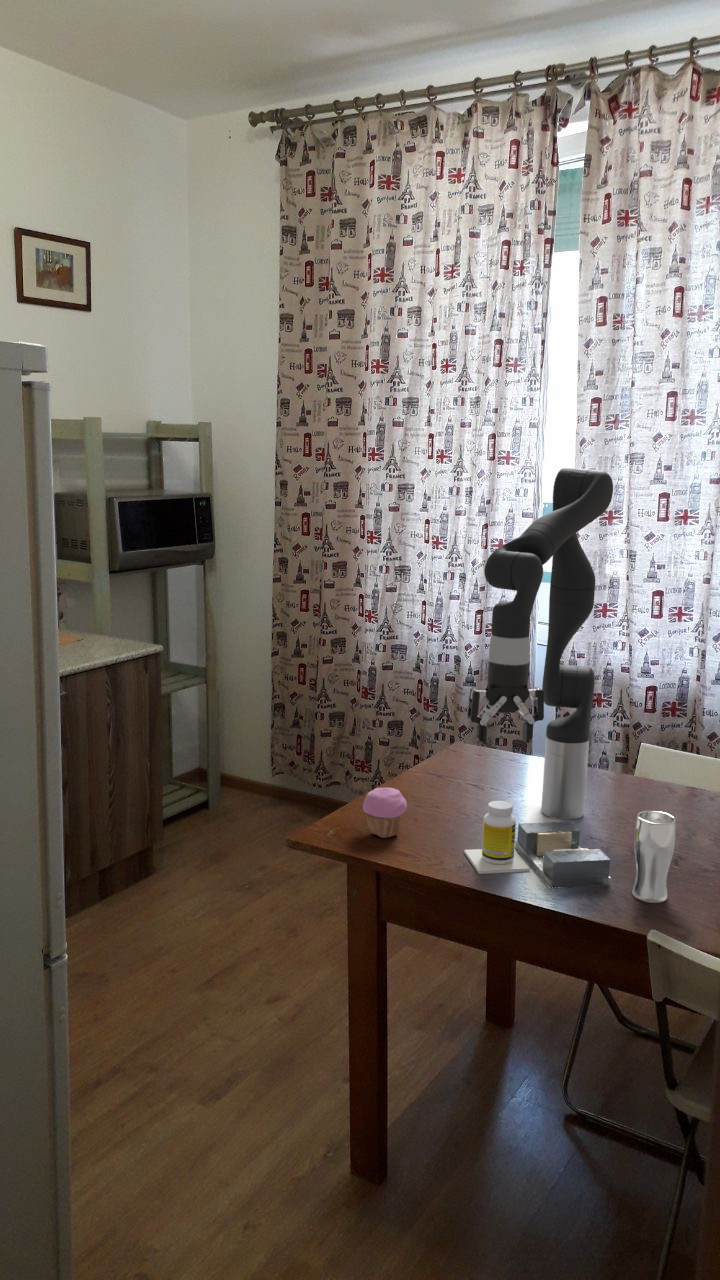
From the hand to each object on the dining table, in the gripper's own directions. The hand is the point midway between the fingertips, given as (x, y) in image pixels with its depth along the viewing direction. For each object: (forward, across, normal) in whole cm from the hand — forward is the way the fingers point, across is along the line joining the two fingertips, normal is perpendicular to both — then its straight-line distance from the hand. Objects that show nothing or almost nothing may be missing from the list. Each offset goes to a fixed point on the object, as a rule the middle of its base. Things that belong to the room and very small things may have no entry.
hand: (504, 742), depth 189 cm
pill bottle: (+24, 0, 0) cm, 24 cm away
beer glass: (+24, -23, +18) cm, 38 cm away
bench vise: (+24, -12, +3) cm, 27 cm away
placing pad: (+24, 0, 0) cm, 24 cm away
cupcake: (+24, +19, -16) cm, 35 cm away
